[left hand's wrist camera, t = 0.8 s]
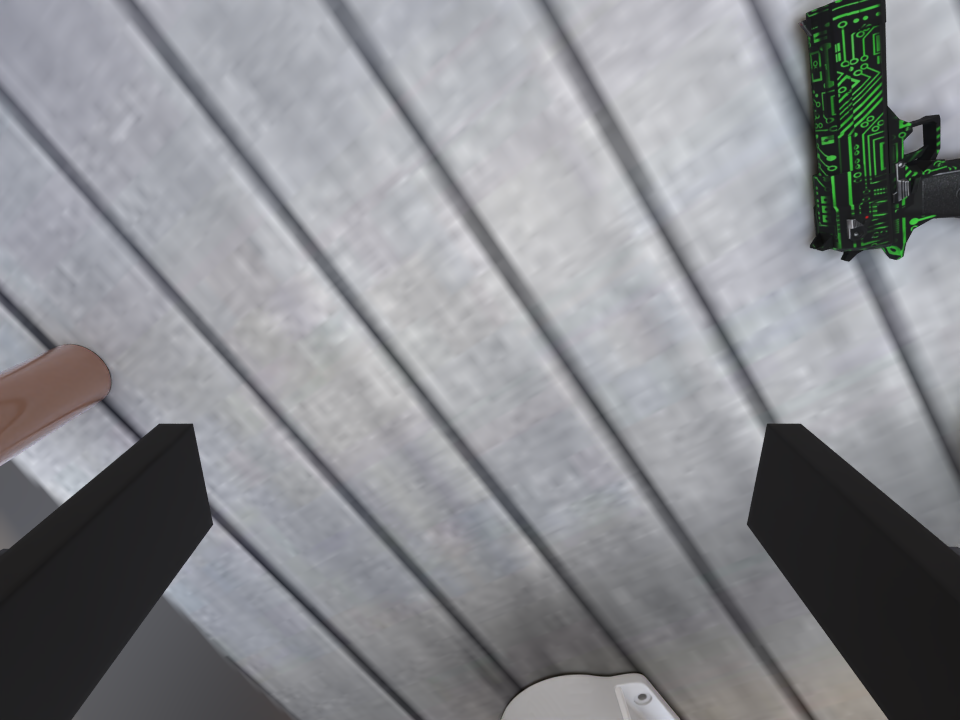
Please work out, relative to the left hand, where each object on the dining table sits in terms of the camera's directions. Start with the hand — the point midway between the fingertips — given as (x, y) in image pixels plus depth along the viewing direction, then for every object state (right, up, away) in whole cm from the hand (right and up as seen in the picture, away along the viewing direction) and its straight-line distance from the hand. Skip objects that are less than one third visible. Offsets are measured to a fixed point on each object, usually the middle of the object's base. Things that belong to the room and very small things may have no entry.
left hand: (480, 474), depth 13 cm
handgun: (+28, +18, +23) cm, 40 cm away
